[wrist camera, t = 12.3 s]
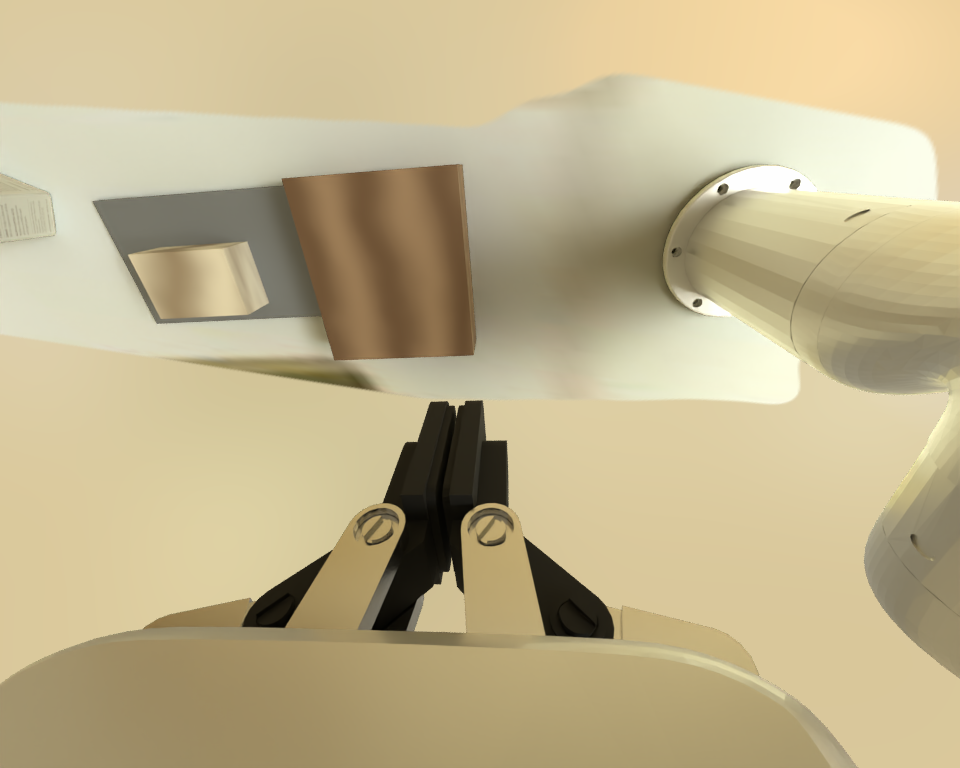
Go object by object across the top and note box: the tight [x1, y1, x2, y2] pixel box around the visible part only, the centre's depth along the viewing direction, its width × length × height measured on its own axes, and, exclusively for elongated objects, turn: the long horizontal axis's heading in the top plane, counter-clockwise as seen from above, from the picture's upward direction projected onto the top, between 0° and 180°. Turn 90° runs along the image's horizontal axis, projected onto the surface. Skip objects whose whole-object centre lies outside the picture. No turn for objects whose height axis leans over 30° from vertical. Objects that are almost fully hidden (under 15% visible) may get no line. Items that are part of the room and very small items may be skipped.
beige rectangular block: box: [128, 242, 269, 319], centre depth 36 cm, size 9×6×4 cm, turn 94°
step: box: [282, 164, 476, 360], centre depth 35 cm, size 14×16×4 cm
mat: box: [93, 186, 321, 324], centre depth 37 cm, size 20×12×1 cm, turn 94°
